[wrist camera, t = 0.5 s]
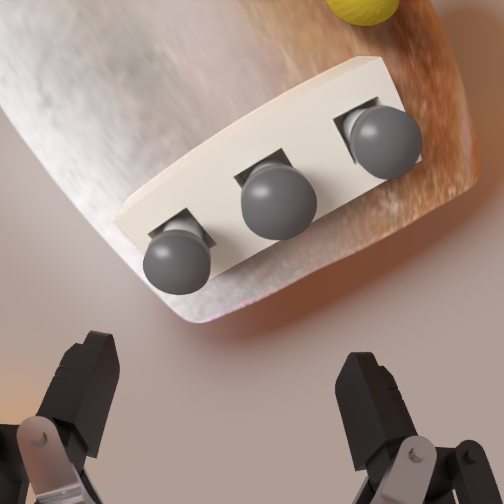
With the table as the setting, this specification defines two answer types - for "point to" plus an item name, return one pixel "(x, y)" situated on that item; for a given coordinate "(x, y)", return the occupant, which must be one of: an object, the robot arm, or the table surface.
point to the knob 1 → (178, 257)
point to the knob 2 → (382, 140)
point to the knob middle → (277, 200)
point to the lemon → (363, 10)
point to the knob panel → (256, 149)
